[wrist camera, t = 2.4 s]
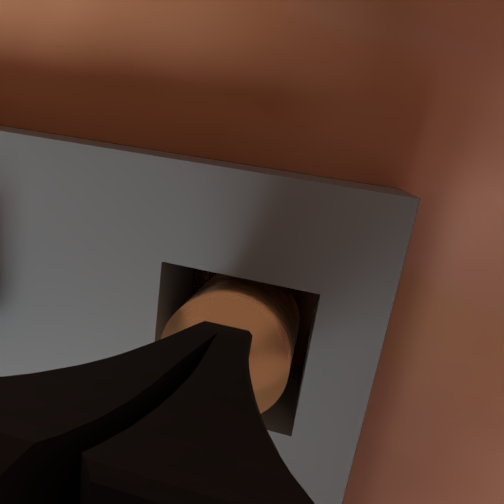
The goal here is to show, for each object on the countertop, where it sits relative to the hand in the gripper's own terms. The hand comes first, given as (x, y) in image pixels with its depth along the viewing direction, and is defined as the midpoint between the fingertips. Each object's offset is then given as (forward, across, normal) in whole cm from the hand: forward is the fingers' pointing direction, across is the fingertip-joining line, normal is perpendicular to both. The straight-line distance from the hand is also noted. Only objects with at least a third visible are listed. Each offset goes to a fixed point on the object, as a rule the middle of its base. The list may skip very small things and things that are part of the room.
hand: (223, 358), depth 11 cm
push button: (+3, 0, 0) cm, 3 cm away
